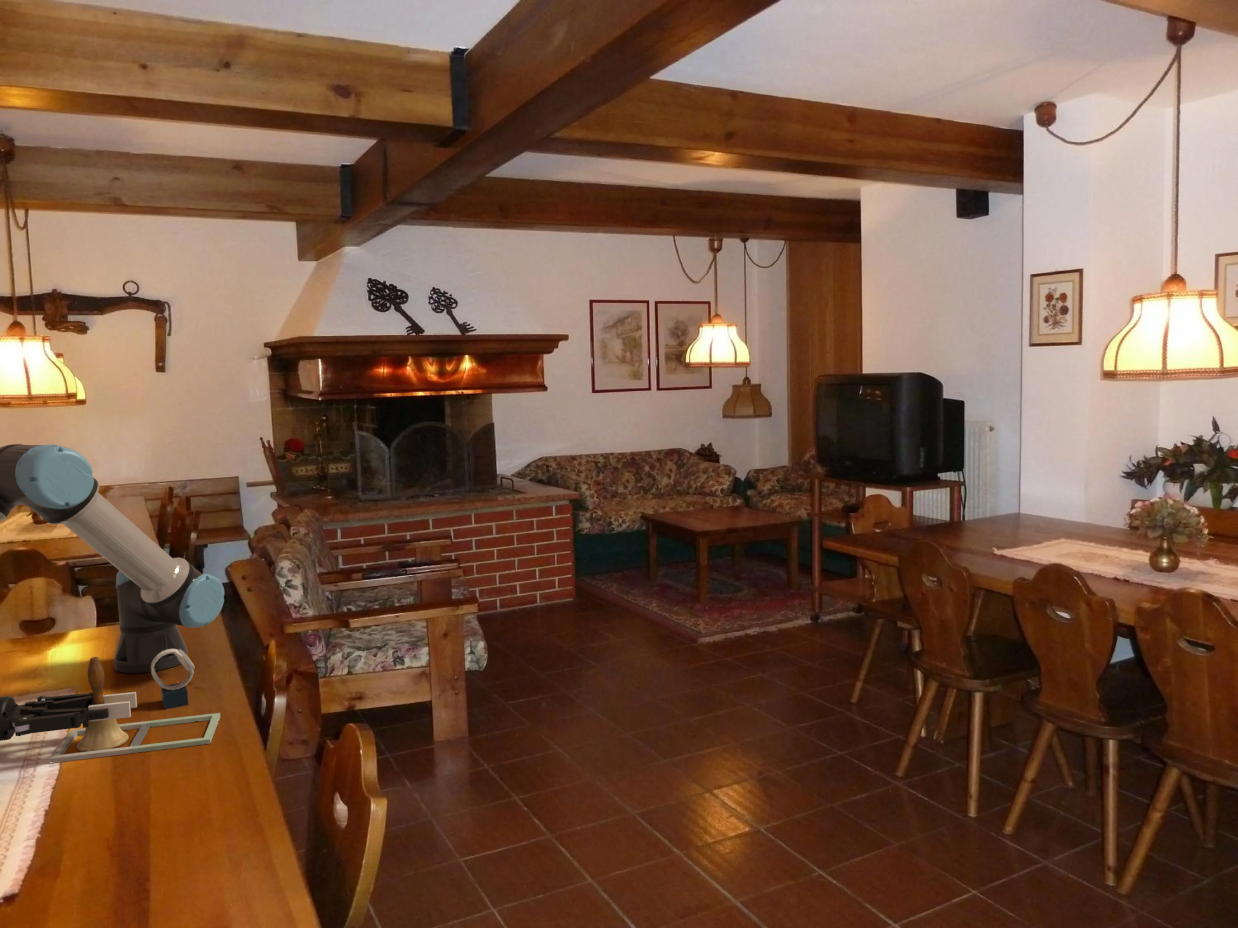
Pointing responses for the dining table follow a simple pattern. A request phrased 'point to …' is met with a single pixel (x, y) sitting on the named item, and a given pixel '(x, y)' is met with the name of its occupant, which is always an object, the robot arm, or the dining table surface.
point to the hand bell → (103, 731)
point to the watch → (175, 692)
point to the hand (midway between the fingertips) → (132, 704)
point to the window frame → (138, 739)
